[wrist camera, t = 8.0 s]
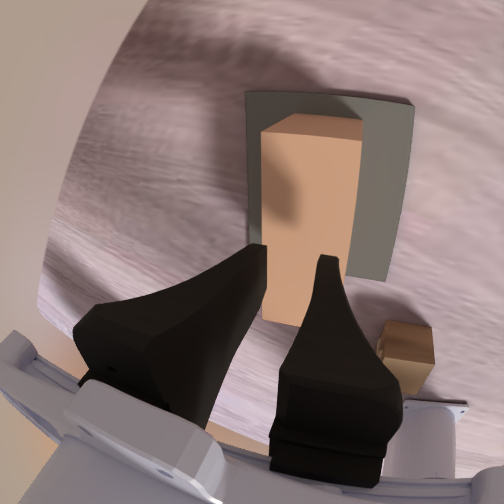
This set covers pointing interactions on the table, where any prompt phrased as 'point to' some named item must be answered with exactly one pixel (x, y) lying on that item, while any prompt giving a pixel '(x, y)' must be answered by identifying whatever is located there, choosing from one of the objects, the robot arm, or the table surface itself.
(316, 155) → the block
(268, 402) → the table surface
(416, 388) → the brown cube
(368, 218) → the mat
